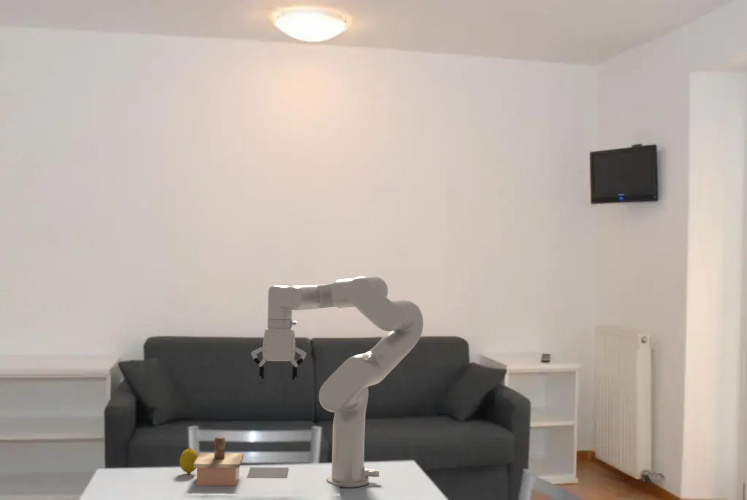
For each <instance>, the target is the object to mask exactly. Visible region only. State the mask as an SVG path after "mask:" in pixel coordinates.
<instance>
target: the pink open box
mask: <svg viewBox="0 0 747 500" xmlns="http://www.w3.org/2000/svg"><path fill="white" fill-rule="evenodd" d="M239 477H240V467H239V468H196V487H201V486H202V487H236V486H237V483H238V480H239Z"/></svg>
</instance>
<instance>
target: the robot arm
mask: <svg viewBox="0 0 747 500" xmlns="http://www.w3.org/2000/svg"><path fill="white" fill-rule="evenodd" d="M388 292H389V287H388V285H387V283H386V281H385V280H384V279H382V278H381V277H379V276H373V275H372V276H369V275H367V276H364V275H363V276H357V277H355V278H343V279H337V280H335V281H333V283H326V284H315V285H313V284H312V285H311V284H310V285H292V286H289V285H278V284H277V285H271V286H270V287H269V288H268V292H267V293H268V295H267V296H268V297H267V327H266V328H265V330H264V334H263V341H262V346H261V347H259V348H256V349H254V350H253V351H251V353H250V354H251V357H252V359H253V361H254V362H255V363H256V364H257V365H258V367H259V373H258V374H259V375H258V376H259V377H261V380H264V379H265V367H266V366H265V363H266V362H290V363H291V364H292V365H293V366H292V371H291V372H292V375H291V379H292V380H293V381H295V379H296V378H297V377H298V366H300V365H301V364H302V363H303V362H304V360H305V358H306V357H307V352H305V351H304V350H302V349H301V348H298V347H296V337H295V336H296V334H295V329H294V328H292V327H294V326H297V321H296V320H295V321H294V320H293V311H303V310H317V309H325V308H326V309H327V308H337V309H342V308H353V307H354V308H356V309H357V311H359V312H360V313H361V314H362V315H363V316H365V318H367V319H368V320H369V322H371V323H372V324H373V325H374V326H375V327H377V328H378V329H380V330H382V331H385V332H388V333H387V334H385V335H384V336H383V337H382V338H381V339H379V340H378V342H377V343H376V344H375V345H374V346H373V347H372V348H371V349H370V350H368V351H366V352H365V353H364V352H363V353H360V354H356V355H353V356H351V357H348V358H347V359H346V360H345V361H343V362H342V364H341V365H339V367H337V369H336V370H335V371H334V372H333V373H331V375H330V376H329V377H328V378H327V379H326V380H325V381H324V382H323V384H322V385H321V386H320V389H319V392H318V401H319V403H320V405H321V407H322V408H323V409H324V410H325V411H327V412H330V413H334V415H333V416H334V417H333V422H332V446H331V447H332V448H331V449H332V450H331V451H332V452H331V458H332V459H331V474H328V475H327V477H326V479H325V480H326V483H328V484H331V485H333V486H338V487H340V488H358V487H362V486H366V485H368V483H369V482H370V481H369V480H370V479H369V478H371V477H372V478H380V470H379V469H378V470H375V469H374V468H371V469H370V468H369V469H368V468H367V467H366V466H365V437H366V436H365V433H366V431H365V430H366V413H367V406H368V401H369V387H371V386H375V385H377V384H379V383H381V382H382V381H383V380H385V378H386V377H387V376H388V375H389V374H390V372H392V371H393V370H394V369H395V368H396V367H397V365H399V364H400V362H401V361H402V360H403V359H404V358H405V357H406V356H408V354H409V353H410V352H411V351H412V350H413V349H414V347H415V346H417V343H418V342H419V340H420V338H421V336H422V334H423V329H424V317H423V314H422V311H421V309H420V307H419V306H418V305H417V303H414V302H413V301H410V300H406V299H405V300H403V299H401V300H390V299H389V298H388V297H387V296H388V294H389V293H388ZM261 352H262V359H260V358H259V357H258V354H259V353H261ZM296 354H298V355H300V357H299V359H298V360H296V359H295V357H296Z"/></svg>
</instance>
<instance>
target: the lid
mask: <svg viewBox="0 0 747 500" xmlns="http://www.w3.org/2000/svg"><path fill="white" fill-rule="evenodd" d="M213 449H214V452H200V453H199V455H198V457H197V459H196V461H195V462H194V464H193V468H196V469H197V468H239V469H240V467H241V464H242V462H243V461H244V457H245V456H244V455H245V454H244V453H243V452H242V453H241V452H240V453H239V452H235V453H233V452H229V453H228V452H227V453H226V452H225V450H226V437H224V436H217V437H214V448H213Z"/></svg>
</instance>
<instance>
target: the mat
mask: <svg viewBox="0 0 747 500" xmlns="http://www.w3.org/2000/svg"><path fill="white" fill-rule="evenodd" d="M247 473H248V474H247V476H246V479H287V478H288V475H289V467H257V466H256V467H253V466H252V467H249V470H248V472H247Z"/></svg>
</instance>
